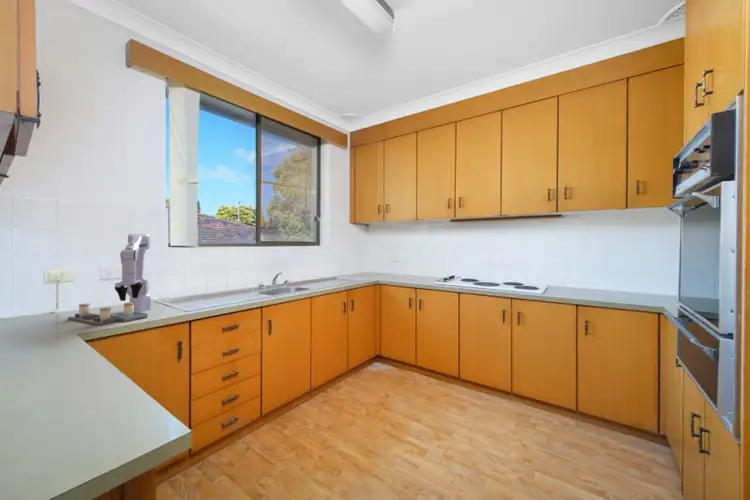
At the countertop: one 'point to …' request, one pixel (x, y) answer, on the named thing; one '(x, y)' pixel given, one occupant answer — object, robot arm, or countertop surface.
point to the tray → (125, 319)
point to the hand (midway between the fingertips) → (129, 299)
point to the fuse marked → (128, 309)
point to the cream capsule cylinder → (84, 310)
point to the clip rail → (95, 319)
